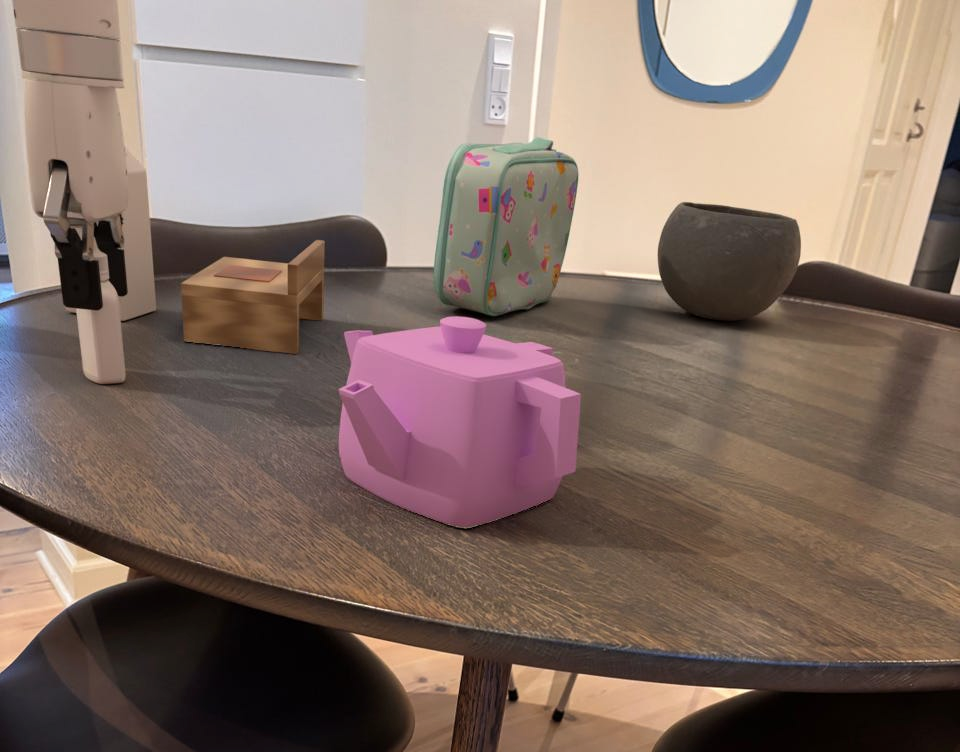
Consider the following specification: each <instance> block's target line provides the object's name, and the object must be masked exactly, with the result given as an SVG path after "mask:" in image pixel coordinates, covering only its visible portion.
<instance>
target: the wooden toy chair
mask: <svg viewBox="0 0 960 752" xmlns="http://www.w3.org/2000/svg"><path fill="white" fill-rule="evenodd" d="M180 295H181V296H180V297H181V312H182V314H181V315H182V326H183V327H182V329H183V342H184V341H187V342H188V341H189V342H199V343H209V344H220V345H225V346H234V347H240V348H239V349H243V348H247V349H246V350H252V349H253V350H254V351H263V352H272V353H282V354H290V355H291V354H292V355H297V354H299V352H300V319H302V320H312V321H321V322H322V321H323V320H324V312H325V311H324V308H325V307H324V306H325V305H324V303H325V302H324V301H325V240H321V239H316V240H314V241H313V242H312V243H310V245H309V246H307V247H306V248H305V249H304V250H303V251H302V252H300V253H299V254H297V256H296V257H294V258H293V259H292V260H291V261H290V262H288V263H286V262H278V261H267V260H258V259H249V258H239V257H231V256H223V257H221V258H220V259H218V260H216V261H215V262H213V263H212V264H210V265H208V266H207V267H205V268H203V269H202V270H200V271H198V272H197V273H195V274H194V275H192V276H191V277H189V278H187V279H186V280H184V281H182V282H181V283H180ZM253 350H252V351H253Z"/></svg>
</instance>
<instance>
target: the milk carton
mask: <svg viewBox="0 0 960 752" xmlns="http://www.w3.org/2000/svg"><path fill="white" fill-rule="evenodd" d="M124 147H125V155H126V165H127V176H128V206H127V208H126V209H125V210H124V211H123V214H122V217H123V224H122V231H123V235H124V248H123V249H124V254H125V266H126V277H127V288H128V293H127V295H125V296H123V297H121V296H118V300H119V310H120V320H121V322H123V321H127V320H131V319H133V318H137V317H140V316H143V315H146V314H148V313H149V314H150V313H152V312H155V311H157V300H156V286H155V274H154V273H155V272H154V257H153V244H152V230H151V216H150V204H149V203H150V202H149V188H148V177H147V168H145V167H144V166H143V165H142V163H141V162H140V161H139V160H138V159H137V157H135V156H134V155H133V153H132V152H131V151H130V150H129V149H128V148H127V146H125V145H124ZM67 217H73V218H82V219H84V218H83V216H82V215H80V213H72V212H68V213H67ZM96 223H97V226H98V222H96ZM71 228H72V227H71ZM75 229H76V231H77V233H78V234H79V236H80V238H81V240H82V229H81V228H75ZM118 249H122V248H118ZM65 310H66V312H69V313H74V314H77V312H76V308H68V307H66V306H65Z"/></svg>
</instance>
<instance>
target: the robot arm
mask: <svg viewBox="0 0 960 752" xmlns="http://www.w3.org/2000/svg"><path fill="white" fill-rule="evenodd" d="M11 1H12V9H13V16H14V25H15V32H16V40H17V47H18V48H17V49H18V54H19V55H18V56H19V63H20V69H21V70H20V71H21V78H22V79H24V80H25V81H24V95H23V96H24V102H23V103H24V105H23V106H24V109H23V110H24V112H23V113H24V114H23V115H24V134H25V135H24V136H25V147H26V162H27V172H28V182H29V184H28V185H29V193H30V202H31V208H32V211H33V212H34V214H35V215H36V216H38V217H39V218H41V219H43V223H44V225H45V226H46V228H47V229H48V231H49V233H50V238H51V239H52V241H53V244H54V254H55V257H56V259H57V264H58V265H57V266H58V272H59V273H58V274H59V281H60V289H61V299H62V304H63V306H64V307H65V308H66V307H68V308H77V309H87V310H96V311H97V310H100V309H102V307H103V300H102V290H101V280H100V271H99V261H98V260H93V253H94V237H95V240H96V244H97V247H98V249H99V250H100V251H101V252H103V253H105V254H106V255H107V260H108V270H109V279H107V280H108V281H109V282H110V283H111V284H112V285H113V287H114V288H115V290H116V292H117V295H118V296H121V297H123V296H125V295H127V293H128V288H127V277H126V266H125V254H124V249H123V248H124V235H123V231H122V224H123V217H122V214H123V211H124V210H125V209H126V208H127V206H128V176H127V165H126V155H125V147H126V146H125V140H124V131H123V124H122V118H121V111H120V106H119V105H120V104H119V100H118V93H117V89H125V81H124V79H125V78H124V67H123V56H122V55H123V53H122V42H121V29H120V28H121V27H120V16H119V5H118V0H11ZM124 146H125V147H124ZM68 212H72V213H80V215H82V216H83V218H84V219H82V218H73V217H67V213H68ZM96 222H98V226H97V223H96ZM71 227H72V228H71ZM75 228H81V229H82V240H81V238H80V236H79V234H78V233H77V231H76V229H75ZM118 248H122V249H118Z"/></svg>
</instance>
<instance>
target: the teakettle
mask: <svg viewBox="0 0 960 752" xmlns="http://www.w3.org/2000/svg"><path fill="white" fill-rule="evenodd" d="M439 324H440V326H431V327H421V328H413V329H405V330H399V331H391V332H385V333H377V334H374V331H373V330H358V329H357V330H349V331H344V332H343V335H344V341H345V345H346V348H347V352H348V356H349V360H350V368H349V372H348V377H347V379H346V385H345V386H342V387H340V388H338V394H339V397H340V399H341V401H342V406H341V412H340V421H339V432H338V452H339V458H340V463H341V467H342V469H343V472H344V475H345V477H346V478H347V479H348V480H350V482H352V483H354V484H355V485H357V486H359V487H361V488H362V489H364V490H365V491H368V492H369V493H371V494H373V495H374V496H377V497H378V498H380V499H382V500H383V501H385V502H388V503H390V504H391V505H394V506H396V507H398V506H399V508H401V509H404V510H405V509H406V510H405V511H408V512H410V511H411V512H410V513H413V512H414V513H413V514H415V513H417V514H416V515H418V514H419V515H418V516H420V515H423V516H425V517H427V518H426V519H428V518H431V519H434V520H437V521H441V522H443V523H446V524H451V525H454V526H460V527H471V526H475V525H480V524H483V523H487V522H490V521H493V520H496V519H499V518H502V517H505V516H509V515H511V514H515V513H517V512H520V511H522V510H525V509H528V508H530V507H533V506H536V505H539V504H541V503H543V502H545V503H547V502H546V501H548V500H550V499H551V498H552V499H553V498H554V496H555V494H556V492H557V490H558V488H559V486H560V483H561V481H562V478H563V476H566V475H570V474H573V473H575V472H576V469H577V455H578V453H577V452H578V443H579V442H578V440H579V430H580V429H579V427H580V416H581V415H580V413H581V401H582V400H581V399H582V394H581V393H579V392H578V391H574V390H572V389H570V388H566V376H565V366H564V363H563V362H562V360H561V359H559V358H557V357H555V356H554V347H550V346H547V345H544V344H541V343H537V342H535V341H527V342H525V341H524V342H515V343H514V342H511V341H509V340H505V339H501V338H498V337H495V336H491V335H488V334H485V332H486V329H487V324H486V323H485V322H483V321H482V320H480V319H477V318H474V317H468V316H447V317H444V318H441V319H440V320H439ZM552 499H551V500H552ZM551 500H550V501H551ZM548 502H549V501H548ZM543 504H544V503H543ZM541 505H542V504H541ZM539 506H540V505H539ZM536 507H537V506H536ZM533 508H534V507H533ZM528 510H529V509H528ZM515 515H516V514H515ZM423 516H422V517H423ZM425 517H424V518H425Z"/></svg>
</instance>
